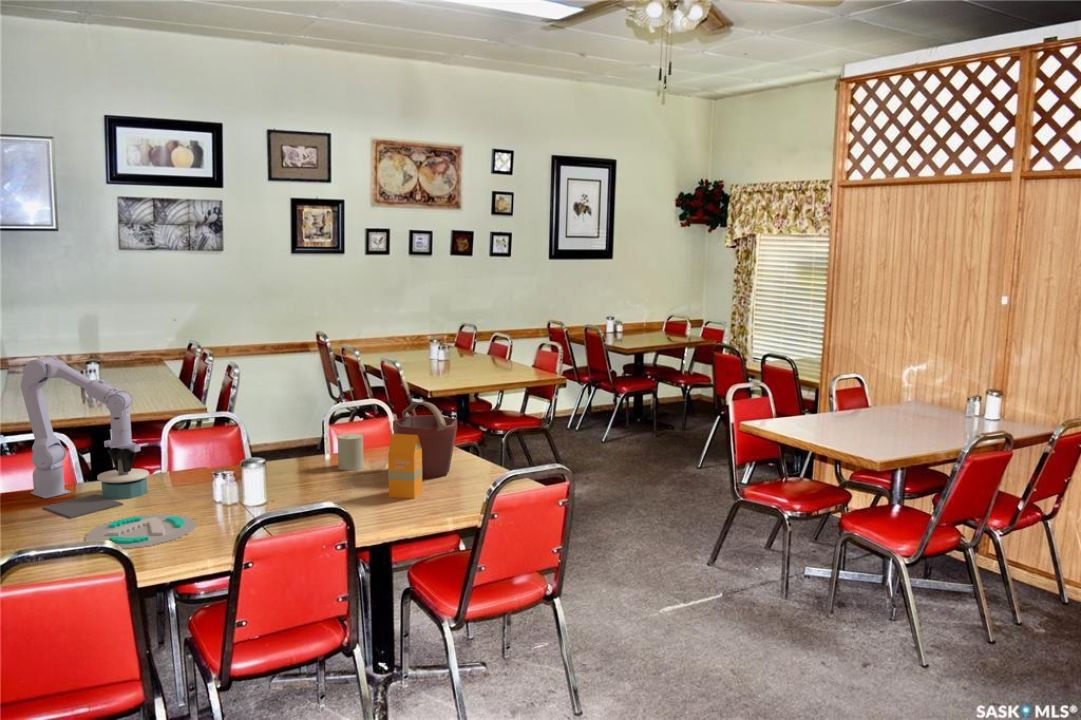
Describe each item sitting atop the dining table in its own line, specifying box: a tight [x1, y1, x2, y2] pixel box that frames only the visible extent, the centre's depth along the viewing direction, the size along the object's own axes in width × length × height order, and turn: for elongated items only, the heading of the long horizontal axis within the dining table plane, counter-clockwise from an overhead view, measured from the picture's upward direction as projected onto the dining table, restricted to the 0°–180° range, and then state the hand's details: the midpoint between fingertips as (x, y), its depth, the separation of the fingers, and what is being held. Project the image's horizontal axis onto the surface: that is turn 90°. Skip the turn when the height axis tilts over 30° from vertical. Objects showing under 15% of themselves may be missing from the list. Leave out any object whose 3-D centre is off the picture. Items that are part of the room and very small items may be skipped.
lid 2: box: [83, 513, 198, 550], centre depth 241 cm, size 28×28×2 cm
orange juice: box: [387, 433, 423, 499], centre depth 276 cm, size 8×9×20 cm
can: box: [337, 432, 365, 472], centre depth 309 cm, size 9×9×12 cm
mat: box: [42, 493, 124, 519], centre depth 262 cm, size 16×16×1 cm
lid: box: [96, 458, 150, 483], centre depth 275 cm, size 15×15×6 cm
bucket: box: [392, 401, 458, 480], centre depth 302 cm, size 24×22×25 cm
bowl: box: [101, 477, 148, 500], centre depth 276 cm, size 13×13×4 cm
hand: (123, 471), depth 275 cm, fingers closed on lid, 3 cm apart
